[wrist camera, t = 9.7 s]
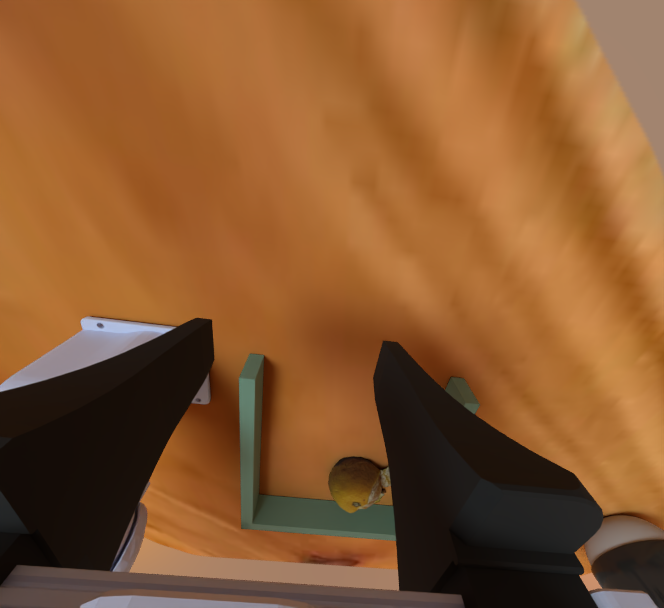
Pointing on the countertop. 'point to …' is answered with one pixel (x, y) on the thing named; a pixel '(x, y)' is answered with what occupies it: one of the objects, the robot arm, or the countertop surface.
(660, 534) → the pump dispenser
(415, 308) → the countertop surface
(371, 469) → the fruit
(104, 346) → the robot arm
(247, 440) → the green u-shaped bracket
